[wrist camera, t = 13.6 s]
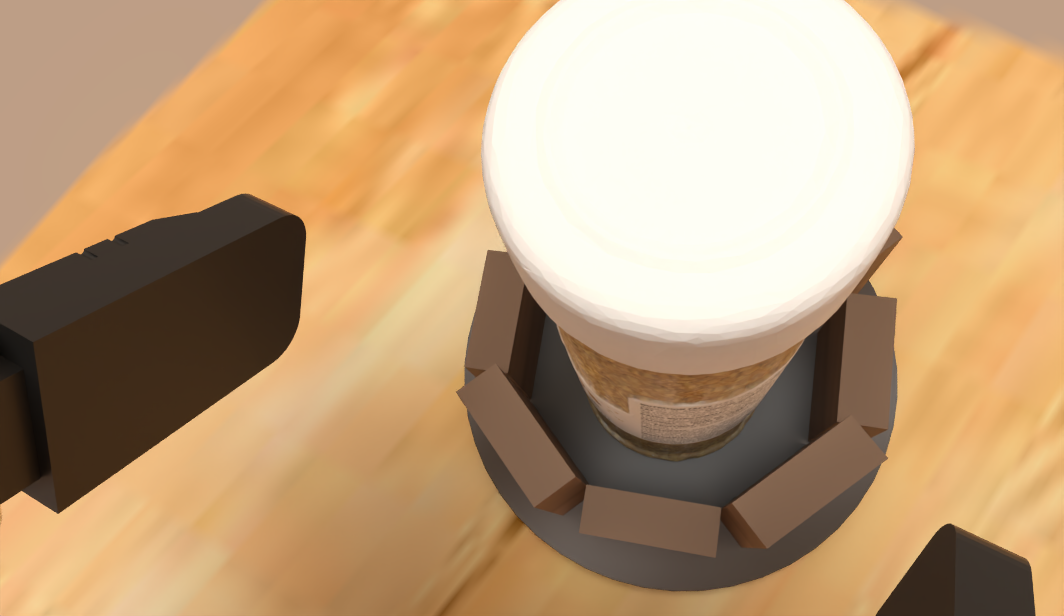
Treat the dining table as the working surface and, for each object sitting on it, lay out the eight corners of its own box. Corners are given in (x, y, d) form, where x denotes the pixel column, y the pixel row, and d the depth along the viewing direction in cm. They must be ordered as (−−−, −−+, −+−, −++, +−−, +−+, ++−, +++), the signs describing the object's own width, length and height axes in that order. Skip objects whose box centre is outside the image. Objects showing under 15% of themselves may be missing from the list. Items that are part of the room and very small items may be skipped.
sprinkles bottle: (572, 306, 22) (450, -19, 9) (743, 277, 22) (863, -108, 9) (598, 478, 21) (497, 372, 8) (781, 452, 20) (987, 293, 8)
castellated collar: (981, 418, 21) (1104, 370, 15) (630, 681, 20) (619, 734, 15) (706, 116, 24) (720, -17, 18) (399, 335, 24) (317, 269, 18)
